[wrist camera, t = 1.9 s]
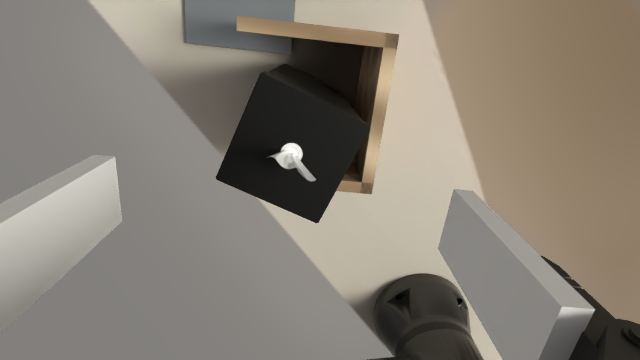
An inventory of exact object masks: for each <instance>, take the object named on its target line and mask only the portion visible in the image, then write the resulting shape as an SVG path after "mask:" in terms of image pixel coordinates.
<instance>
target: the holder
mask: <svg viewBox="0 0 640 360" xmlns="http://www.w3.org/2000/svg"><path fill="white" fill-rule="evenodd" d="M237 31H242V32H250V33H257V34H265V35H274V36H283V37H292V38H300V39H309V40H318V41H327V42H335V43H344V44H353V45H362V46H364V48H363V55H362V62H361V69H360V77H359V84H358V91H357V98H356V105H355V111H356V112H357V114H358V115H359V116H360V117H361V118H362V120H363V121H364V122H366V123H367V124H368V125H369V126H370V127H369V128H370V130H369V132H368V134H367V135H366V137H365V139H364V141H363V143H362V144H361V146H360V148H359V150H358V152H357V154H356V155H355V157H354V159H353V161H352V163H351V164H350V166H349V168H348V170H347V172H346V174H345V175H344V177H343V179H342V181H341V183H340V184H339V186H338V188H337V190H336V191H343V192H354V193H364V194H372V189H373V183H374V177H375V171H376V166H377V160H378V154H379V148H380V143H381V137H382V131H383V125H384V119H385V114H386V108H387V102H388V96H389V91H390V85H391V79H392V73H393V68H394V62H395V56H396V50H397V44H398V39H399V34H390V33H382V32H373V31H365V30H356V29H347V28H339V27H330V26H322V25H313V24H304V23H296V22H287V21H278V20H270V19H261V18H253V17H244V16H237Z"/></svg>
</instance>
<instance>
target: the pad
mask: <svg viewBox="0 0 640 360" xmlns="http://www.w3.org/2000/svg"><path fill="white" fill-rule="evenodd" d="M294 10H295V0H185V33H186V43H191V44H200V45H209V46H218V47H227V48H236V49H244V50H253V51H262V52H271V53H280V54H289V55H291V51H292V37H283V36H274V35H265V34H257V33H250V32H242V31H237V16H244V17H253V18H261V19H270V20H278V21H287V22H294Z"/></svg>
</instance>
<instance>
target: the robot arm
mask: <svg viewBox="0 0 640 360" xmlns="http://www.w3.org/2000/svg"><path fill="white" fill-rule="evenodd" d="M121 221H122V216H121V206H120V197H119V188H118V179H117V170H116V162H115V157H113V156H102V155H93V156H91V157H89V158H87V159H85V160H83V161H81V162H79V163H77V164H75V165H73V166H72V167H70V168H68V169H66V170H64V171H62V172H60V173H58V174H56V175H54V176H52V177H50V178H48V179H47V180H44V181H43V182H41V183H39V184H37V185H35V186H33V187H31V188H29V189H27V190H25V191H23V192H21V193H20V194H18V195H16V196H14V197H12V198H10V199H8V200H6V201H4V202H2V203H0V335H1V334H2V333H3V332H4V331H5V330H6V329H7V328H8V327H9V326H10V325H12V323H14V322H15V321H16V320H17V319H18V318H19V317H20V316H21V315H22V314H23V313H24V312H25V311H26V310H28V308H30V307H31V306H32V305H33V304H34V303H35V302H36V301H37V300H38V299H39V298H40V297H41V296H43V295H44V294H45V293H46V292H47V291H48V290H49V289H50V288H51V287H52V286H53V285H54V284H55V283H56V282H57V281H59V280H60V279H61V278H62V277H63V276H64V275H65V274H66V273H67V272H68V271H69V270H70V269H71V268H73V267H74V266H75V265H76V264H77V263H78V262H79V261H80V260H81V259H82V258H83V257H84V256H85V255H86V254H87V253H88V252H90V251H91V250H92V249H93V248H94V247H95V246H96V245H97V244H98V243H99V242H100V241H101V240H102V239H103V238H105V236H107V235H108V234H109V233H110V232H111V231H112V230H113V229H114V228H115V227H116V226H117V225H118V224H119V223H121ZM438 249H439V251H440V253H441V254H442V256H443V258H444V260H445V261H446V263H447V265H448V266H449V268H450V270H451V272H452V273H453V275H454V277H455V278H456V280H457V282H458V284H459V285H460V287H461V289H462V291H463V292H464V294H465V296H466V297H467V299H468V301H469V303H470V304H471V306H472V308H473V309H474V311H475V313H476V315H477V316H478V318H479V320H480V321H481V323H482V325H483V327H484V328H485V330H486V332H487V333H488V335H489V337H490V339H491V340H492V342H493V344H494V345H495V347H496V349H497V351H498V352H499V354H500V356H501V357H502V359H503V360H640V324H637V323H634V322H631V321H627V320H622V319H615V318H614V317H613V316H612V315H611V314H610V313H609V312H608V311H607V310H606V309H604V308H603V307H602V306H601V305H600V304H599V303H598V302H597V301H596V300H595V299H594V298H593V297H592V296H591V295H589V294H588V293H587V292H586V291H585V290H584V289H581V286H580V285H579V284H578V283H577V282H576V281H574V280H571V277H570V276H569V275H568V274H567V273H566V272H565V271H564V270H563V269H562V268H560V266H558V265H556V264H554V263H553V262H552V261H550V260H548V259H547V258H545V257H543V256H540V255H538V254H537V253H536V252H535V251H534V250H533V249H532V248H531V247H530V246H529V245H528V244H527V243H526V242H525V241H524V240H523V239H522V238H521V237H520V236H519V235H518V234H517V233H516V232H515V231H514V230H513V229H512V228H511V227H509V225H507V224H506V223H505V222H504V221H503V220H502V219H501V218H500V217H499V216H498V215H497V214H496V213H495V212H494V211H493V210H492V209H491V208H490V207H489V206H488V205H487V204H486V203H485V202H484V201H483V200H482V199H481V198H480V197H479V196H478V195H476V194H475V193H474V192H473V191H469V190H458V189H454V191H453V194H452V198H451V202H450V206H449V209H448V213H447V217H446V221H445V224H444V228H443V232H442V236H441V239H440V243H439V247H438ZM374 319H375V324H376V328H377V331H378V334H379V336H380V338H381V339H382V341H383V342H384V343H385V345H386V346H387V348H388V349H389V351H390V352H391V354H392V355H393V357H391V358H379V359H369V360H484V359H483V358H482V356H481V354H480V352H479V350H478V348H477V346H476V345H475V343H474V341H473V339H472V337H471V331H470V322H469V312H468V307H467V304H466V302H465V300H464V298H463V296H462V295H461V293H460V291H459V290H458V288H457V287H456V286H455V285H454V284H453V283H451V282H450V281H448V280H447V279H445V278H442V277H440V276H436V275H430V274H417V275H411V276H407V277H404V278H402V279H400V280H397V281H396V282H394V283H392V284H391V285H390V286H388V287H387V288H386V289H385V290H384V291H383V292H382V293H381V295H380V296H379V298H378V300H377V302H376V305H375V308H374Z"/></svg>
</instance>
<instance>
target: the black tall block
mask: <svg viewBox="0 0 640 360" xmlns="http://www.w3.org/2000/svg"><path fill="white" fill-rule="evenodd" d="M369 127H370V126H369V125H368V124H367V123H366V122H364V121H363V120H362V118H361V117H360V116H359V115H358V114H357V112H356V111H355V110H354V109H353V107H352V106H351V105H350V104H349V102H348V101H347V100H346V99H345V97H344V96H343V95H342V94H341V93H340V91H338V90H337V89H335V88H333V87H331V86H329V85H327V84H325V83H323V82H321V81H319V80H317V79H316V78H314V77H312V76H310V75H308V74H306V73H304V72H302V71H300V70H298V69H296V68H294V67H292V66H290V65H288V64H286V63H285V64H283V65H281V66H279V67H277V68H275V69H273V70H271V71H269V72H266V71H265V72H262V73H260V75H259V78H258V80H257V82H256V85H255V87H254V89H253V92H252V94H251V96H250V99H249V101H248V103H247V106H246V108H245V110H244V113H243V115H242V117H241V120H240V122H239V124H238V127H237V129H236V131H235V134H234V136H233V138H232V141H231V143H230V145H229V148H228V150H227V152H226V155H225V157H224V160H223V162H222V164H221V167H220V169H219V171H218V174H217V176H216V179H217V180H219V181H221V182H223V183H225V184H228V185H230V186H233V187H235V188H237V189H239V190H242V191H244V192H246V193H248V194H251V195H253V196H255V197H258V198H260V199H262V200H264V201H267V202H269V203H271V204H274V205H276V206H278V207H281V208H283V209H285V210H287V211H290V212H292V213H294V214H297V215H299V216H301V217H303V218H306V219H308V220H310V221H313V222H315V223H319V221H320V219H321V217H322V215H323V213H324V212H325V210H326V208H327V206H328V204H329V203H330V201H331V199H332V197H333V195H334V193H335V192H336V190H337V188H338V186H339V184H340V183H341V181H342V179H343V177H344V175H345V174H346V172H347V170H348V168H349V166H350V164H351V163H352V161H353V159H354V157H355V155H356V154H357V152H358V150H359V148H360V146H361V144H362V143H363V141H364V139H365V137H366V135H367V134H368V132H369V130H370V128H369Z"/></svg>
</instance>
